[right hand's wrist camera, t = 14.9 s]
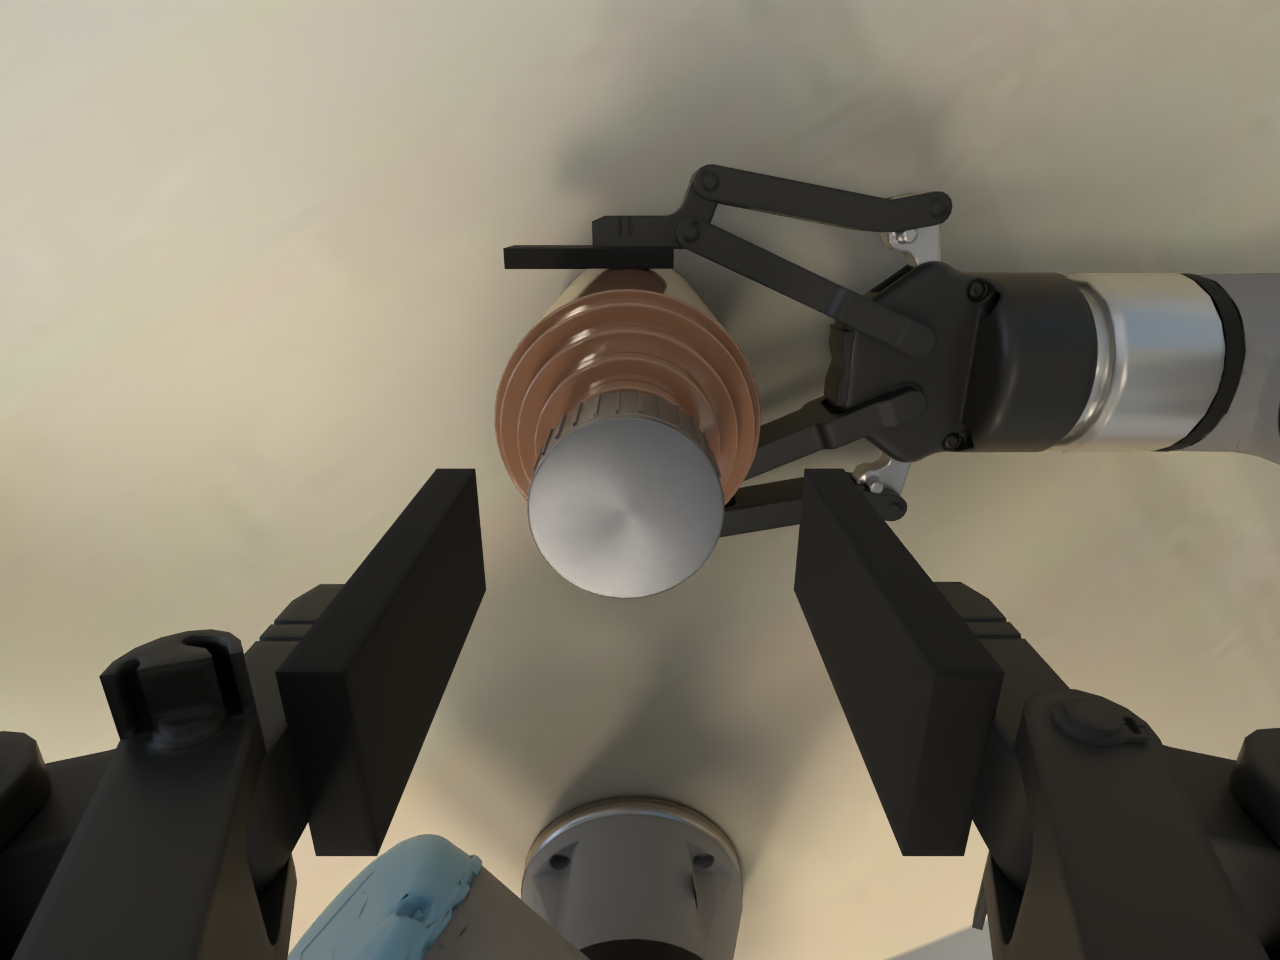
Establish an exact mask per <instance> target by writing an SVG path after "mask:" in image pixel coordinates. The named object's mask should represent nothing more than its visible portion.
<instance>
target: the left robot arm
mask: <svg viewBox="0 0 1280 960" xmlns="http://www.w3.org/2000/svg"><path fill="white" fill-rule="evenodd" d="M717 204H723V205H729V206H734V207H739V208H744V209H749V210H754V211H759V212H765V213H770V214H775V215H780V216H785V217H790V218H796V219H801V220H806V221H811V222H816V223H821V224H826V225H832V226H837V227H842V228H847V229H853V230H860V231H872V232H880V237H881V241H882V243H883V245H884V246H885V247H886V248H888V249H892V250H899V251H901V252H903V253H904V254H905V255H906V257H907V259H908V265H906V266H905V267H903V268H902V269H900V270H899V271H897V272H896V273H895V274H893V275H892V276H890V277H889V278H887V279H886V280H884V281H883V282H882V283H880V284H879V285H877V286H876V287H874V288H873V289H871V290H870V291H868V292H867V293H866V294H864V295H863V296H861V295H859V294H857V293H855V292H853V291H851V290H849V289H847V288H844V287H842V286H840V285H838V284H835V283H833V282H831V281H829V280H827V279H825V278H823V277H821V276H819V275H817V274H815V273H813V272H810V271H808V270H806V269H804V268H802V267H800V266H798V265H796V264H794V263H792V262H790V261H787V260H785V259H783V258H781V257H779V256H777V255H775V254H773V253H771V252H769V251H767V250H765V249H762V248H760V247H758V246H756V245H754V244H752V243H750V242H748V241H746V240H744V239H742V238H739V237H737V236H735V235H733V234H731V233H729V232H727V231H725V230H723V229H721V228H719V227H717V226H714V225H712V224H710V223H711V220H712V217H713V215H714V212H715V209H716V207H717ZM951 210H952V202H951V199H950V197H949V196H948V195H947V194H945V193H944V192H923V193H911V194H906V195H900V196H895V197H889V198H880V197H875V196H870V195H865V194H859V193H854V192H849V191H844V190H839V189H834V188H829V187H824V186H819V185H814V184H809V183H804V182H799V181H794V180H789V179H784V178H779V177H774V176H769V175H764V174H759V173H754V172H748V171H743V170H738V169H733V168H728V167H723V166H718V165H706V166H703V167H701V168H700V169H698V170H697V171H696V172H695V173H694V174H693V175H692V176H691V179H690V181H689V186H688V189H687V191H686V194H685V197H684V200H683V202H682V204H681V206H680V208H679V209H678V210H677V211H676V212H674V213H673V214H670V215H667V216H604V217H602V218H599V219H597V220H595V221H592V235H593V245H514V246H510V247H507V248H503V249H504V264H505V269H673V258H674V249H687V250H690V251H692V252H694V253H696V254H698V255H700V256H702V257H704V258H707V259H709V260H711V261H713V262H715V263H717V264H719V265H722V266H724V267H726V268H728V269H730V270H732V271H734V272H736V273H739V274H741V275H743V276H745V277H747V278H749V279H751V280H753V281H756V282H758V283H760V284H762V285H764V286H766V287H768V288H770V289H773V290H775V291H777V292H779V293H781V294H783V295H785V296H787V297H790V298H792V299H794V300H796V301H798V302H800V303H802V304H804V305H807V306H809V307H811V308H813V309H815V310H817V311H819V312H821V313H824V314H826V315H828V316H830V317H832V318H834V319H836V322H835V324H831V326H830V336H829V345H830V351H831V357H832V361H831V364H830V367H829V369H828V372H827V375H826V378H825V388H824V395H825V396H822V397H820V398H817V399H815V400H813V401H810V402H808V403H807V404H805V405H804V406H803V407H802V408H801V409H800V410H798V411H796V412H793V413H791V414H788V415H786V416H784V417H781V418H779V419H776V420H774V421H772V422H769V423H767V424H764V425H762V426H761V428H760V434H759V441H758V446H757V450H756V453H755V457H754V460H753V462H752V465H751V467H750V469H749V472H748V474H747V476H746V477H745V479H744V481H745V480H748V479H750V478H753V477H755V476H758V475H760V474H762V473H765V472H767V471H770V470H772V469H775V468H777V467H780V466H782V465H785V464H787V463H789V462H792V461H794V460H797V459H799V458H802V457H804V456H807V455H809V454H812V453H814V452H816V451H819V450H822V449H835V448H838V447H841V446H843V445H846V444H848V443H851V442H853V441H856V440H858V439H861V438H863V437H864V438H866V439H867V440H868V441H869V442H871V443H872V444H873V445H875V446H876V447H877V448H879V449H880V450H881V451H883V453H882V455H881V457H880V458H879V459H878V460H876V461H875V462H872V463H864V464H860V465H857V466H856V467H855V469H854V472H853V473H849V472H846V473H847V474H848V476H849V477H850V478H851V479H852V481H853V482H854V483H855V484H856V486H857V487H858V488H859V489H860V491H861V492H862V493H863V494H864V496H865V497H866V498H867V499H868V501H869V502H870V503H871V505H872V506H873V507H874V508H875V510H876V511H877V512H878V513H879V515H880V516H881V517H882V518H883V520H886V521H896V520H898V519H900V518H901V517H903V516H904V514H905V513H906V511H907V504H906V501H905V500H904V499H903V498H902V497H901V496H900V494H901V491H902V488H903V485H904V482H905V479H906V476H907V473H908V470H909V467H910V464H911V462H916V461H919V460H921V459H923V458H925V457H927V456H929V455H931V454H934V453H938V452H944V451H948V452H1039V451H1044V450H1046V449H1051V450H1052V451H1058V452H1110V451H1219V452H1238V453H1246V454H1251V455H1255V456H1259V457H1262V458H1264V459H1267V460H1270V461H1272V462H1275V463H1277V464H1280V273H1258V274H1216V275H1194V274H1180V273H1073V274H1070V275H1068V276H1063V275H1061V274H1057V273H965V272H960V271H957V270H956V269H954V268H952V267H951V266H949V265H948V264H946V263H943V262H941V226H940V224H941V223H943V222H944V221H945V220H946V219H948V217H949V215H950V213H951ZM803 483H804V477H801V478H795V479H789V480H784V481H778V482H772V483H766V484H760V485H754V486H748V487H742V488H739V489H738V490H737V492H736V493H735V494H734V495H733V497H732V498H731V499H730V500H729V502H728V503H727V504H726V505H725V506H724V519H723V526H722V529H721V533H720V536H719V537H724V536H731V535H737V534H743V533H749V532H755V531H761V530H767V529H773V528H779V527H785V526H791V525H797V524H800V517H801V506H802V494H803ZM742 896H743V888H742V881H741V875H740V869H739V863H738V859H737V856H736V853H735V851H734V849H733V847H732V845H731V843H730V842H729V840H728V839H727V838H726V836H725V835H724V834H723V833H722V832H721V830H720V829H719V828H718V827H716V826H715V825H714V824H713V823H712V822H711V821H709V820H708V819H706V818H705V817H704V816H702V815H700V814H698V813H697V812H695V811H693V810H691V809H688V808H686V807H684V806H681V805H678V804H675V803H672V802H668V801H664V800H659V799H654V798H644V797H621V798H612V799H606V800H601V801H597V802H594V803H590V804H587V805H584V806H582V807H579V808H577V809H575V810H572V811H570V812H568V813H567V814H565V815H563V816H562V817H560V818H559V819H557V820H556V821H554V822H553V823H552V824H551V825H550V826H548V827H547V828H546V829H545V830H544V831H543V832H542V833H541V835H540V836H539V837H538V838H537V840H536V841H535V842H534V844H533V846H532V848H531V849H530V852H529V854H528V857H527V860H526V863H525V868H524V874H523V880H522V888H521V899H520V898H519V897H518V896H516V895H515V894H514V893H513V892H512V891H511V890H510V889H508V888H507V887H506V886H505V885H504V884H503V883H501V882H500V881H499V880H498V879H497V878H496V877H495V876H493V875H492V874H491V873H490V872H489V871H488V870H487V869H485V868H484V867H483V866H482V861H481V859H480V858H479V857H478V856H476V855H468V854H467V853H465V852H464V851H462V850H461V849H459V848H458V847H457V846H455V845H454V844H452V843H451V842H450V841H448V840H447V839H445V838H443V837H441V836H438V835H432V834H425V835H418V836H415V837H412V838H409V839H407V840H404V841H402V842H400V843H398V844H397V845H395V846H394V847H392V848H391V849H390V850H388V851H387V852H386V853H384V854H382V855H381V856H379V857H378V858H377V859H375V860H374V861H373V862H372V863H371V864H369V865H368V866H367V867H366V868H365V869H364V870H363V871H362V872H360V873H359V874H358V875H357V876H356V877H355V878H354V879H353V880H352V881H351V882H350V883H349V884H348V885H347V886H346V887H345V888H344V889H343V890H342V891H341V892H340V893H339V894H338V895H337V897H336V898H335V899H334V900H333V901H332V902H331V903H330V904H329V905H328V906H327V908H326V909H325V910H324V911H323V912H322V913H321V915H320V916H319V917H318V918H317V919H316V920H315V922H314V923H313V924H312V925H311V927H310V928H309V929H308V930H307V932H306V933H305V934H304V935H303V937H302V938H301V939H300V940H299V942H298V943H297V944H296V946H295V947H294V948H293V950H292V951H291V952H290V954H289V955H288V957H287V960H733V957H734V952H735V946H736V941H737V935H738V930H739V924H740V919H741V913H742Z"/></svg>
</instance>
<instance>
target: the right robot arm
mask: <svg viewBox="0 0 1280 960" xmlns="http://www.w3.org/2000/svg"><path fill="white" fill-rule="evenodd" d="M485 591H486V584H485V572H484V561H483V550H482V539H481V528H480V517H479V506H478V494H477V483H476V472H475V469H436V471H435V472H434V473H433V474H432V476H431V477H430V478H429V479H428V481H427V482H426V483H425V484H424V486H423V487H422V488H421V489H420V491H419V492H418V493H417V494H416V496H415V497H414V498H413V499H412V501H411V502H410V503H409V505H408V506H407V507H406V508H405V510H404V511H403V512H402V513H401V515H400V516H399V517H398V518H397V520H396V521H395V522H394V523H393V525H392V526H391V527H390V528H389V530H388V531H387V532H386V533H385V535H384V536H383V537H382V538H381V540H380V541H379V542H378V544H377V545H376V546H375V547H374V549H373V550H372V551H371V552H370V554H369V555H368V556H367V557H366V559H365V560H364V561H363V562H362V564H361V565H360V566H359V567H358V569H357V570H356V571H355V572H354V574H353V575H352V576H351V578H350V579H349V580H348V581H347V583H346V584H320V585H318V586H316V587H315V588H313V589H311V590H310V591H308V592H306V593H305V594H303V595H301V596H300V597H298V598H296V599H295V600H293V601H292V602H291V603H290V604H289V605H288V606H287V607H286V608H285V609H284V611H283V612H282V613H281V614H280V615H279V616H278V617H277V618H276V619H275V621H274V625H270V626H269V627H268V628H267V630H266V631H265V632H264V633H263V634H262V635H261V636H260V640H259V641H256V642H255V643H254V644H253V645H252V646H251V647H250V648H249V650H248V651H247V652H246V653H245V654H244V653H243V649H242V644H241V640H239V639H238V638H237V637H235V636H234V635H232V634H231V633H229V632H223V631H218V630H212V629H211V630H197V631H186V632H182V633H178V634H174V635H170V636H165V637H161V638H159V639H156V640H154V641H151V642H149V643H146V644H144V645H141V646H139V647H136V648H134V649H133V650H131V651H130V652H128V653H126V654H125V655H123V656H121V657H120V658H118V659H117V660H115V661H113V662H112V663H111V665H110V666H109V667H108V668H107V669H106V670H105V671H104V672H103V673H102V674H101V675H100V676H99V677H100V680H101V683H102V686H103V689H104V692H105V695H106V698H107V701H108V704H109V707H110V710H111V713H112V716H113V719H114V722H115V725H116V728H117V731H118V734H119V737H120V742H119V744H118V746H117V748H116V749H113V750H109V751H104V752H99V753H95V754H90V755H85V756H80V757H75V758H71V759H66V760H61V761H56V762H51V763H47V764H45V763H44V760H43V758H42V755H41V753H40V750H39V747H38V745H37V742H36V740H34V739H33V738H31V737H30V736H28V735H27V734H25V733H19V732H7V731H1V732H0V960H287V957H288V949H289V942H290V934H291V926H292V918H293V910H294V902H295V894H296V886H297V879H296V872H295V866H294V861H293V857H292V851H293V849H294V847H295V845H296V844H297V842H298V840H299V838H300V836H301V834H302V832H303V831H304V829H305V827H306V825H307V823H308V822H309V827H310V831H311V835H312V840H313V844H314V849H315V853H316V856H377V855H378V853H379V850H380V848H381V845H382V843H383V840H384V838H385V835H386V833H387V831H388V828H389V826H390V823H391V821H392V818H393V816H394V813H395V811H396V809H397V806H398V804H399V801H400V799H401V796H402V794H403V791H404V789H405V787H406V784H407V782H408V779H409V777H410V774H411V772H412V769H413V767H414V765H415V762H416V760H417V757H418V755H419V752H420V750H421V747H422V745H423V743H424V740H425V738H426V735H427V733H428V730H429V728H430V725H431V723H432V721H433V718H434V716H435V713H436V711H437V708H438V706H439V703H440V701H441V699H442V696H443V694H444V691H445V689H446V686H447V684H448V681H449V679H450V677H451V674H452V672H453V669H454V667H455V664H456V662H457V659H458V657H459V655H460V652H461V650H462V647H463V645H464V642H465V640H466V637H467V635H468V633H469V630H470V628H471V625H472V623H473V620H474V618H475V615H476V613H477V611H478V608H479V606H480V603H481V601H482V598H483V596H484V593H485ZM794 591H795V593H796V596H797V598H798V601H799V603H800V606H801V608H802V611H803V613H804V615H805V618H806V620H807V623H808V625H809V628H810V630H811V633H812V635H813V637H814V640H815V642H816V645H817V647H818V650H819V652H820V655H821V657H822V659H823V662H824V664H825V667H826V669H827V672H828V674H829V677H830V679H831V681H832V684H833V686H834V689H835V691H836V694H837V696H838V699H839V701H840V703H841V706H842V708H843V711H844V713H845V716H846V718H847V721H848V723H849V725H850V728H851V730H852V733H853V735H854V738H855V740H856V743H857V745H858V747H859V750H860V752H861V755H862V757H863V760H864V762H865V765H866V767H867V769H868V772H869V774H870V777H871V779H872V782H873V784H874V787H875V789H876V791H877V794H878V796H879V799H880V801H881V804H882V806H883V809H884V811H885V813H886V816H887V818H888V821H889V823H890V826H891V828H892V831H893V833H894V835H895V838H896V840H897V843H898V845H899V848H900V850H901V853H902V855H903V856H964V853H965V849H966V844H967V840H968V835H969V831H970V827H971V822H972V820H973V822H974V823H975V825H976V827H977V829H978V831H979V832H980V834H981V836H982V838H983V840H984V842H985V843H986V845H987V847H988V849H989V853H988V857H987V861H986V866H985V870H984V874H983V878H982V882H981V886H980V891H979V895H978V899H977V903H976V907H975V911H974V918H973V925H972V927H973V928H976V929H980V930H982V929H983V925H984V921H985V917H986V914H987V916H988V924H989V931H990V940H991V947H992V955H993V960H1280V728H1272V729H1259V730H1256V731H1254V732H1253V733H1251V734H1250V735H1248V736H1247V737H1245V740H1244V742H1243V745H1242V747H1241V750H1240V753H1239V755H1238V758H1237V760H1236V761H1235V760H1230V759H1225V758H1220V757H1215V756H1211V755H1206V754H1201V753H1196V752H1191V751H1186V750H1182V749H1177V748H1172V747H1168V746H1165V745H1163V744H1162V742H1161V740H1160V739H1159V737H1158V736H1157V735H1156V734H1155V732H1154V731H1153V730H1152V729H1151V727H1150V726H1149V725H1148V724H1147V723H1146V722H1145V721H1144V720H1142V719H1141V718H1139V717H1138V716H1137V715H1135V714H1134V713H1133V712H1131V711H1130V710H1128V709H1127V708H1125V707H1123V706H1121V705H1119V704H1117V703H1114V702H1112V701H1110V700H1108V699H1106V698H1104V697H1101V696H1098V695H1094V694H1091V693H1087V692H1083V691H1080V690H1075V689H1070V688H1069V687H1068V686H1067V685H1066V684H1065V683H1064V682H1063V681H1062V680H1061V678H1060V677H1059V676H1058V675H1057V674H1056V673H1055V672H1054V671H1053V670H1052V668H1051V667H1050V666H1049V665H1048V664H1047V663H1046V662H1045V661H1044V660H1043V658H1042V657H1041V656H1040V655H1039V654H1038V653H1037V652H1036V651H1035V650H1034V649H1033V647H1032V646H1031V645H1030V644H1029V643H1028V642H1027V641H1026V640H1025V639H1021V634H1020V633H1019V632H1018V631H1017V630H1016V629H1015V628H1014V626H1013V625H1012V624H1011V623H1010V622H1006V618H1005V616H1004V615H1003V614H1002V613H1001V612H1000V611H999V610H998V609H997V608H996V606H995V605H994V604H993V603H992V602H991V601H990V600H989V599H988V598H986V597H985V596H983V595H981V594H980V593H978V592H976V591H975V590H973V589H971V588H970V587H968V586H966V585H965V584H963V583H961V582H933V581H932V580H931V579H930V578H929V576H928V575H927V574H926V572H925V571H924V570H923V569H922V567H921V566H920V565H919V564H918V562H917V561H916V560H915V559H914V557H913V556H912V555H911V554H910V552H909V551H908V550H907V549H906V547H905V546H904V545H903V544H902V542H901V541H900V540H899V538H898V537H897V536H896V535H895V533H894V532H893V531H892V530H891V528H890V527H889V526H888V525H887V523H886V522H885V521H884V520H883V518H882V517H881V516H880V515H879V513H878V512H877V511H876V510H875V508H874V507H873V506H872V505H871V503H870V502H869V501H868V499H867V498H866V497H865V496H864V494H863V493H862V492H861V491H860V489H859V488H858V487H857V486H856V484H855V483H854V482H853V481H852V479H851V478H850V477H849V476H848V474H847V473H846V472H845V471H844V469H805V472H804V483H803V494H802V506H801V517H800V528H799V539H798V550H797V561H796V573H795V584H794Z"/></svg>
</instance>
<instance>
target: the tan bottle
mask: <svg viewBox="0 0 1280 960" xmlns="http://www.w3.org/2000/svg"><path fill="white" fill-rule="evenodd" d="M617 390H621V392H623V391H631V392H638V390H640V391H641V393H646V394H651V395H654V396H657V397H658V395H660V396H661V397H662V399H664V400H666V401H668V402H670V403H672V404H674V405H675V406H676V404H678V405H679V406H680V409H681V410H682V411H684V412H685V413H686V414H687V415H688V416H689V417H690V418H691V417H693V418H694V419H695V422H696V425H697V426H698V427H699V429H700V430H701V432H702V433H704V432H705V434H706V436H707V439H708V442H709V445H710V448H711V450H713V453H714V456H715V459H716V462H717V465H718V468H719V470H720V473H721V477H722V478H721V479H720V482H721V485H722V489H723V492H724V495H725V499H724V506H725V505H726V504H727V503H728V502H729V500H730V499H731V498H732V497H733V495H734V494H735V493H736V492H737V490H738V489H739V487H740V486H741V484H742V482H743V481H744V479H745V477H746V476H747V474H748V472H749V469H750V467H751V465H752V462H753V460H754V457H755V453H756V450H757V446H758V441H759V434H760V428H761V409H760V402H759V394H758V390H757V386H756V383H755V379H754V376H753V374H752V371H751V369H750V367H749V364H748V362H747V360H746V358H745V357H744V355H743V353H742V352H741V350H740V348H739V347H738V345H737V344H736V343H735V342H734V340H733V339H732V338H731V337H730V335H729V334H728V333H727V331H726V330H725V329H724V328H723V326H722V325H721V324H720V323H719V321H718V320H717V319H716V318H715V316H714V315H713V314H712V313H711V311H710V310H709V309H708V308H707V306H706V305H705V304H704V302H703V301H702V300H701V299H700V297H699V296H698V295H697V294H696V292H695V291H694V290H693V289H692V287H691V286H690V285H689V284H688V282H687V281H686V280H685V279H684V278H682V277H681V276H680V275H679V274H678V273H677V272H675V271H674V270H672V269H587V270H585V271H584V272H582V273H581V274H580V275H579V276H578V277H577V278H576V279H574V280H573V281H572V283H571V284H570V285H569V286H568V287H567V288H566V289H565V291H564V292H563V293H562V294H561V295H560V296H559V297H558V299H557V300H556V301H555V302H554V303H553V304H552V305H551V307H550V308H549V309H548V310H547V311H546V312H545V313H544V315H543V316H542V317H541V318H540V319H539V320H538V321H537V323H536V324H535V325H534V326H533V327H532V328H531V329H530V331H529V332H528V333H527V334H526V335H525V337H524V338H523V339H522V340H521V341H520V343H519V344H518V345H517V347H516V349H515V350H514V352H513V353H512V355H511V357H510V358H509V360H508V362H507V365H506V367H505V369H504V371H503V374H502V377H501V380H500V383H499V387H498V390H497V397H496V404H495V430H496V438H497V443H498V447H499V451H500V454H501V458H502V460H503V463H504V465H505V468H506V470H507V472H508V474H509V476H510V478H511V479H512V481H513V483H514V484H515V486H516V488H517V489H518V490H519V492H520V493H521V494H522V495H523V497H524V498H525V499H526V501H527V502H528V496H529V494H528V489H529V486H530V484H531V481H532V478H533V476H534V474H532V471H533V468H534V466H535V463H536V461H537V458H538V456H539V453H540V450H541V448H542V445H543V446H544V444H545V442H546V439H547V436H548V434H549V431H550V429H551V428H552V429H554V428H555V426H556V425H557V424H558V423H559V422H560V420H561V417H562V415H563V414H564V413H565V414H567V413H569V412H570V411H571V410H572V409H573V408H575V407H576V406H577V405H578V403H579V402H580V401H581V402H582V403H583V402H585V401H587V400H589V399H591V398H593V397H596V395H597V394H599V393H600V395H603V394H607V393H612V392H617Z"/></svg>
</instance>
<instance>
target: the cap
mask: <svg viewBox="0 0 1280 960" xmlns="http://www.w3.org/2000/svg"><path fill="white" fill-rule="evenodd" d="M532 474H534V476H533V478H532V481H531V484H530V486H529V489H528V494H529V496H528V519H529V525H530V529H531V533H532V536H533V538H534V540H535V543H536V545H537V547H538V549H539V550H540V552H541V554H542V555H543V557H544V558H545V559H546V561H547V562H548V563H549V564H550V566H551V567H552V568H553V569H554V570H556V571H557V572H558V573H559V574H560V575H561V576H562V577H564V578H565V579H566V580H568V581H569V582H571V583H573V584H574V585H576V586H578V587H580V588H582V589H584V590H587V591H589V592H592V593H595V594H598V595H602V596H607V597H613V598H639V597H645V596H651V595H654V594H657V593H661V592H663V591H666V590H668V589H671V588H673V587H675V586H676V585H678V584H680V583H682V582H683V581H685V580H686V579H687V578H689V577H690V576H691V575H693V574H694V573H695V572H696V571H697V570H698V569H699V568H700V567H701V566H702V565H703V564H704V562H705V561H706V560H707V559H708V557H709V556H710V554H711V552H712V551H713V549H714V548H715V546H716V543H717V541H718V539H719V536H720V533H721V529H722V526H723V519H724V499H725V495H724V492H723V489H722V485H721V482H720V479H721V478H722V477H721V473H720V470H719V468H718V465H717V462H716V459H715V456H714V453H713V450H711V448H710V445H709V442H708V439H707V436H706V434H705V432H704V433H702V432H701V430H700V429H699V427H698V426H697V425H696V422H695V419H694V418H693V417H691V418H690V417H689V416H688V415H687V414H686V413H685V412H684V411H682V410H681V409H680V406H679V405H678V404H676V406H675V405H674V404H672V403H670V402H668V401H666V400H664V399H662V397H661V396H660V395H658V397H657V396H654V395H651V394H646V393H641V391H640V390H638V392H631V391H623V392H621V390H617V392H612V393H607V394H603V395H600V393H599V394H597V395H596V397H593V398H591V399H589V400H587V401H585V402H583V403H582V402H581V401H580V402H579V403H578V405H577V406H576V407H575V408H573V409H572V410H571V411H570V412H569V413H567V414H565V413H564V414H563V415H562V417H561V420H560V422H559V423H558V424H557V425H556V426H555V428H554V429H552V428H551V429H550V431H549V434H548V436H547V439H546V442H545V444H544V446H543V445H542V448H541V450H540V453H539V456H538V458H537V461H536V463H535V466H534V468H533V471H532Z"/></svg>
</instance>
